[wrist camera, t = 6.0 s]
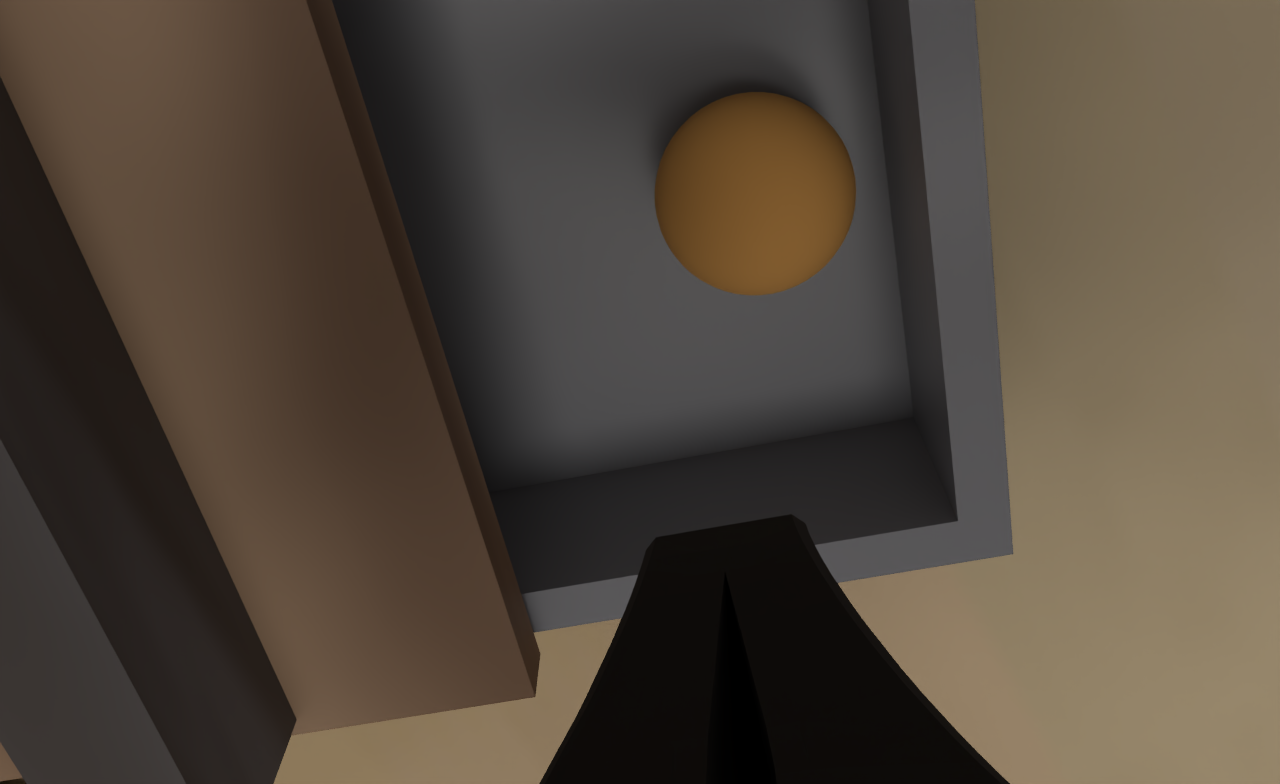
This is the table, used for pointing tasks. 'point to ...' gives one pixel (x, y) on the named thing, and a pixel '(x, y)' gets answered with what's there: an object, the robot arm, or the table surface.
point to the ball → (755, 193)
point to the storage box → (696, 281)
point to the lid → (221, 408)
